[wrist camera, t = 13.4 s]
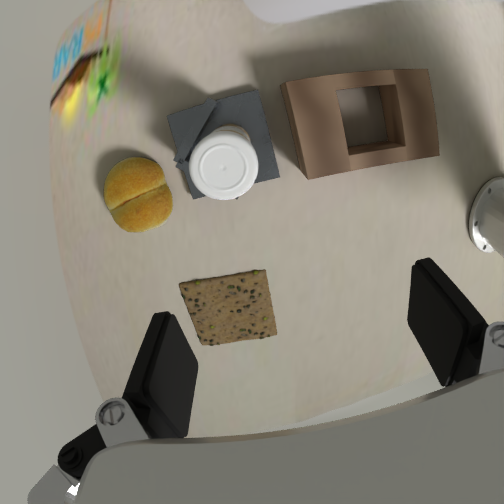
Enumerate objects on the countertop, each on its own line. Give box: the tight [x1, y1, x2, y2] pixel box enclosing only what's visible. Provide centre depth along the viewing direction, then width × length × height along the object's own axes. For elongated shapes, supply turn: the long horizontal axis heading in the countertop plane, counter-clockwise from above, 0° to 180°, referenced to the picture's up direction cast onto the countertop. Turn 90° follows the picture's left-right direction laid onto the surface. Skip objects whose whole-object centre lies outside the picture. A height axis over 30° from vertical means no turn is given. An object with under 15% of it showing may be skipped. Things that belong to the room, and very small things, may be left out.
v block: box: [167, 90, 280, 199], centre depth 29 cm, size 10×11×4 cm
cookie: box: [179, 270, 277, 346], centre depth 42 cm, size 12×12×1 cm
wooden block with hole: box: [280, 69, 440, 180], centre depth 28 cm, size 16×10×4 cm, turn 104°
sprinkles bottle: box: [189, 124, 258, 200], centre depth 25 cm, size 5×5×14 cm
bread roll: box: [104, 157, 173, 232], centre depth 32 cm, size 8×9×4 cm
